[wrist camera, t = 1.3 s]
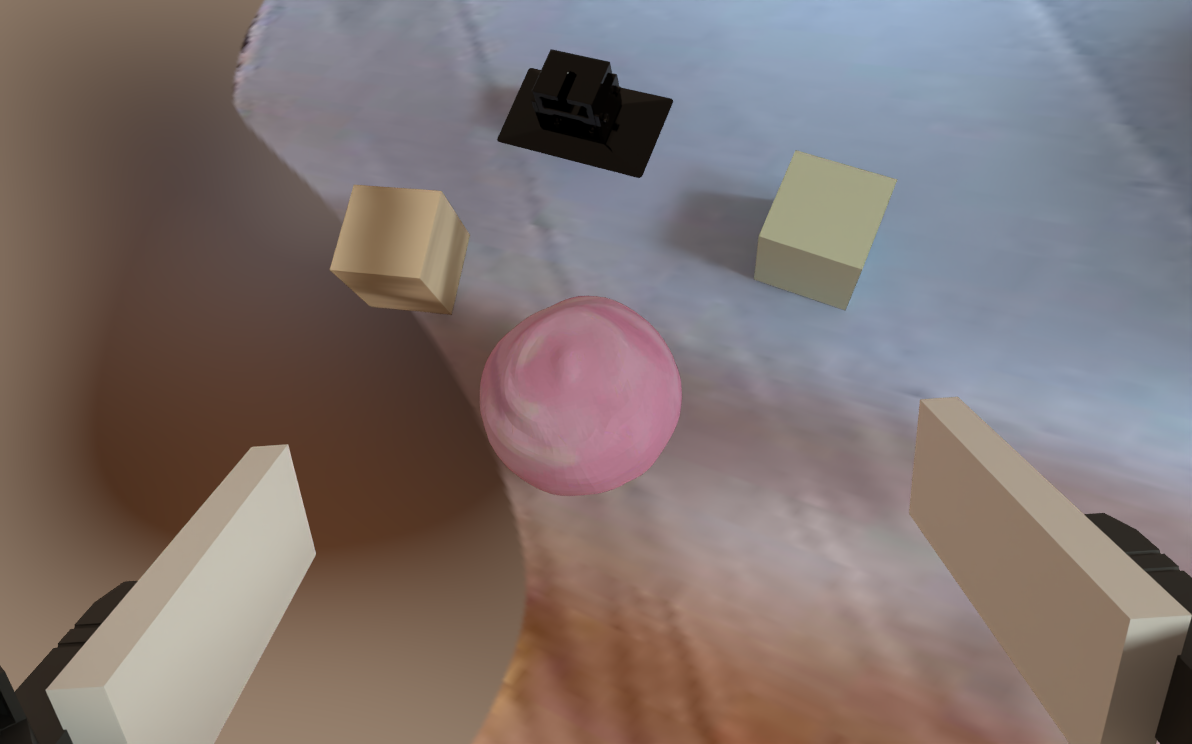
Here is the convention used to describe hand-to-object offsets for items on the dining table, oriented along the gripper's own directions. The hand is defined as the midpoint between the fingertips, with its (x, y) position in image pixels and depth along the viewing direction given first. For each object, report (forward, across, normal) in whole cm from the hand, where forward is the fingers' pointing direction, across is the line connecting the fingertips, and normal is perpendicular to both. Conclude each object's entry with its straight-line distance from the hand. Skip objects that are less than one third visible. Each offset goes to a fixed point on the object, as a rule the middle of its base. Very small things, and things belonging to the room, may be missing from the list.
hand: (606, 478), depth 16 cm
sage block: (+26, +12, -3) cm, 29 cm away
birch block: (+30, -10, -3) cm, 31 cm away
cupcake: (+22, 0, -10) cm, 24 cm away
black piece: (+35, 0, +4) cm, 35 cm away
